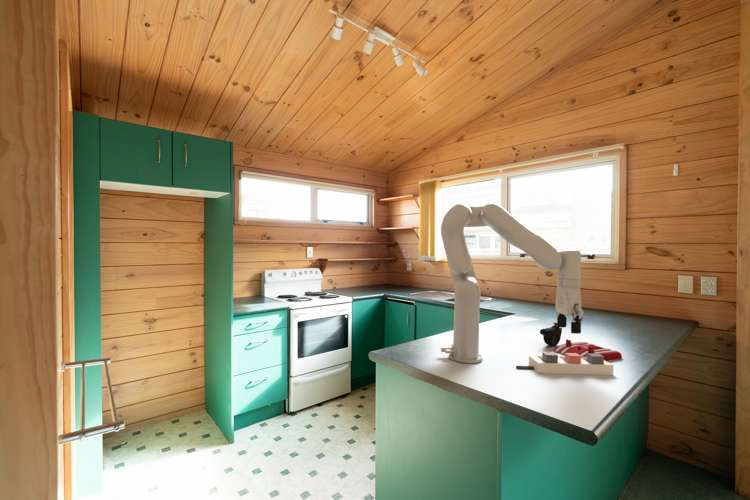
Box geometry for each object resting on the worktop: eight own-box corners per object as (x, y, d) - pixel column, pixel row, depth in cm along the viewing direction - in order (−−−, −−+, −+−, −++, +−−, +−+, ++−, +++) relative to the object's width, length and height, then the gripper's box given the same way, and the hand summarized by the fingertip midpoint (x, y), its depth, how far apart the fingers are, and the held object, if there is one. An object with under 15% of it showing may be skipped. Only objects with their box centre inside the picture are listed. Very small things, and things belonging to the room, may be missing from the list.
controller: (563, 345, 161) (564, 323, 161) (547, 349, 154) (547, 326, 154) (554, 343, 165) (554, 321, 164) (537, 346, 158) (538, 324, 158)
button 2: (569, 364, 125) (569, 355, 125) (564, 361, 128) (564, 352, 128) (580, 365, 125) (581, 355, 125) (575, 362, 128) (576, 353, 128)
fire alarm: (552, 339, 151) (586, 335, 159) (552, 352, 151) (585, 348, 159) (588, 349, 136) (623, 345, 144) (587, 365, 136) (622, 359, 144)
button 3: (592, 365, 125) (592, 356, 125) (586, 362, 128) (587, 353, 128) (603, 365, 125) (604, 356, 125) (598, 362, 128) (598, 353, 128)
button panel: (520, 372, 125) (521, 361, 125) (512, 364, 133) (512, 354, 133) (613, 375, 124) (613, 364, 124) (599, 367, 132) (599, 356, 132)
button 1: (546, 364, 125) (546, 355, 125) (542, 361, 129) (542, 352, 128) (557, 364, 125) (558, 355, 125) (553, 361, 128) (553, 352, 128)
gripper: (547, 281, 139) (547, 324, 140) (571, 286, 122) (570, 335, 122) (566, 281, 139) (566, 324, 140) (593, 286, 122) (592, 336, 122)
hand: (568, 330), depth 131 cm, fingers open, 9 cm apart
